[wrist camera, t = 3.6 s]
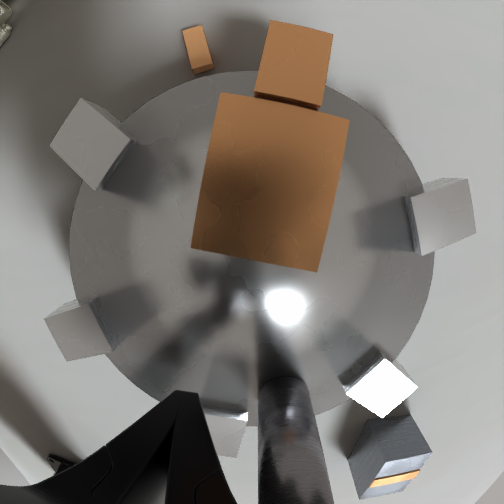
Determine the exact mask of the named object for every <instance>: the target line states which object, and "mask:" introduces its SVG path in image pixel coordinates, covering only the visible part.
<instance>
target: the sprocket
mask: <svg viewBox="0 0 504 504" xmlns="http://www.w3.org/2000/svg"><path fill="white" fill-rule="evenodd" d="M332 40H333V34H330V33H326V32H323V31H319V30H315V29H311V28H307V27H302V26H298V25H293V24H288V23H283V22H278V21H272V20H270V24H269V28H268V33H267V37H266V41H265V45H264V49H263V53H262V58H261V62H260V66H259V71H255V70H247V71H233V72H223V73H218V74H213V75H209V76H205V77H201V78H197V79H194V80H191V81H188V82H186V83H183V84H181V85H178V86H176V87H173V88H171V89H169V90H167V91H165V92H164V93H162V94H160V95H158V96H157V97H155V98H153V99H152V100H150V101H148V102H147V103H145V104H144V105H143V106H141V107H140V108H139V109H138V110H136V111H135V112H134V113H133V114H131V115H130V116H129V117H128V118H126V119H125V120H124V121H123V123H122V122H120V121H119V120H118V119H117V118H115V117H114V116H113V115H112V114H111V113H109V112H108V111H107V110H106V109H105V108H103V107H102V106H99V105H97V104H95V103H92V102H90V101H88V100H85V99H83V98H80V99H79V101H78V102H77V104H76V105H75V106H74V108H73V109H72V111H71V112H70V114H69V115H68V117H67V118H66V120H65V121H64V123H63V124H62V126H61V128H60V129H59V131H58V132H57V134H56V136H55V137H54V139H53V141H52V142H51V144H50V147H51V148H52V149H53V150H54V151H55V152H56V153H57V155H58V156H59V157H60V158H61V159H62V160H63V161H64V162H65V163H66V164H67V165H68V166H69V167H70V168H71V169H73V170H74V171H75V172H76V173H77V174H78V175H79V176H80V177H81V178H82V179H83V181H82V184H81V187H80V190H79V193H78V196H77V199H76V202H75V205H74V210H73V215H72V221H71V226H70V242H69V256H70V268H71V276H72V281H73V285H74V290H75V294H76V298H77V299H76V300H73V301H71V302H68V303H65V304H63V305H62V306H61V307H59V308H58V309H56V310H55V311H54V312H52V313H51V314H50V315H48V316H47V317H46V318H44V320H45V322H46V324H47V326H48V328H49V330H50V332H51V334H52V336H53V338H54V339H55V341H56V343H57V345H58V347H59V349H60V350H61V352H62V354H63V356H64V357H65V359H66V361H71V360H76V359H81V358H86V357H91V356H96V355H101V354H105V355H106V356H107V357H108V358H109V359H110V360H111V362H112V363H113V364H114V365H115V366H116V367H117V368H118V370H119V371H120V372H121V373H122V374H124V375H125V376H126V377H127V378H128V379H129V380H130V381H131V382H132V383H133V384H135V385H136V386H137V387H139V388H140V389H141V390H143V391H144V392H145V393H147V394H148V395H150V396H151V397H153V398H154V399H156V400H158V401H160V402H161V401H162V400H164V399H165V398H166V397H167V396H169V395H170V394H171V393H172V392H173V391H175V390H182V391H189V392H196V393H198V394H199V397H200V400H201V404H202V407H203V411H204V414H205V418H206V421H207V424H208V428H209V431H210V434H211V437H212V440H213V444H214V447H215V450H216V453H217V455H221V456H228V457H235V458H236V457H237V454H238V450H239V447H240V444H241V441H242V437H243V434H244V431H245V427H246V426H258V504H334V501H333V496H332V491H331V486H330V482H329V477H328V473H327V468H326V463H325V459H324V454H323V450H322V445H321V441H320V436H319V432H318V428H317V423H316V419H315V415H317V414H320V413H322V412H325V411H327V410H330V409H332V408H334V407H336V406H338V405H339V404H341V403H343V402H345V401H347V400H349V399H350V398H353V399H354V400H356V401H357V402H359V403H360V404H362V405H363V406H365V407H366V408H368V409H369V410H371V411H372V412H374V413H375V414H377V415H378V416H380V417H382V418H383V417H384V416H385V415H386V414H388V413H389V412H390V411H391V410H392V409H394V408H395V407H396V406H397V405H398V404H400V403H401V402H402V401H403V400H404V399H405V398H406V397H408V396H409V395H410V394H411V393H412V392H413V391H414V390H415V389H416V388H417V386H416V384H415V383H414V381H413V380H412V379H411V377H410V376H409V374H408V373H407V372H406V370H405V369H404V367H403V366H402V365H401V364H399V363H398V362H397V361H396V360H395V359H396V357H397V356H398V355H399V353H400V352H401V350H402V349H403V348H404V346H405V345H406V343H407V342H408V340H409V339H410V337H411V335H412V333H413V331H414V329H415V327H416V325H417V324H418V322H419V320H420V317H421V314H422V312H423V309H424V306H425V304H426V301H427V298H428V294H429V289H430V285H431V280H432V275H433V265H434V251H435V250H438V249H440V248H443V247H445V246H447V245H450V244H452V243H454V242H457V241H459V240H461V239H463V238H466V237H468V236H470V235H472V234H475V233H476V227H475V220H474V213H473V206H472V200H471V194H470V189H469V184H468V179H458V178H441V179H438V180H434V181H431V182H428V183H425V184H422V183H421V181H420V178H419V176H418V174H417V172H416V170H415V168H414V166H413V164H412V162H411V161H410V159H409V157H408V156H407V154H406V153H405V151H404V150H403V149H402V147H401V146H400V144H399V143H398V142H397V140H396V139H395V138H394V136H393V135H392V134H391V133H390V132H389V131H388V130H387V129H386V128H385V127H384V126H383V125H382V124H381V123H380V122H379V120H378V119H376V118H375V117H374V116H373V115H372V114H370V113H369V112H368V111H367V110H365V109H364V108H363V107H361V106H360V105H359V104H358V103H356V102H355V101H353V100H351V99H350V98H348V97H346V96H344V95H343V94H341V93H339V92H337V91H336V90H334V89H332V88H329V87H327V86H325V83H326V77H327V71H328V65H329V59H330V53H331V46H332Z"/></svg>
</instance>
